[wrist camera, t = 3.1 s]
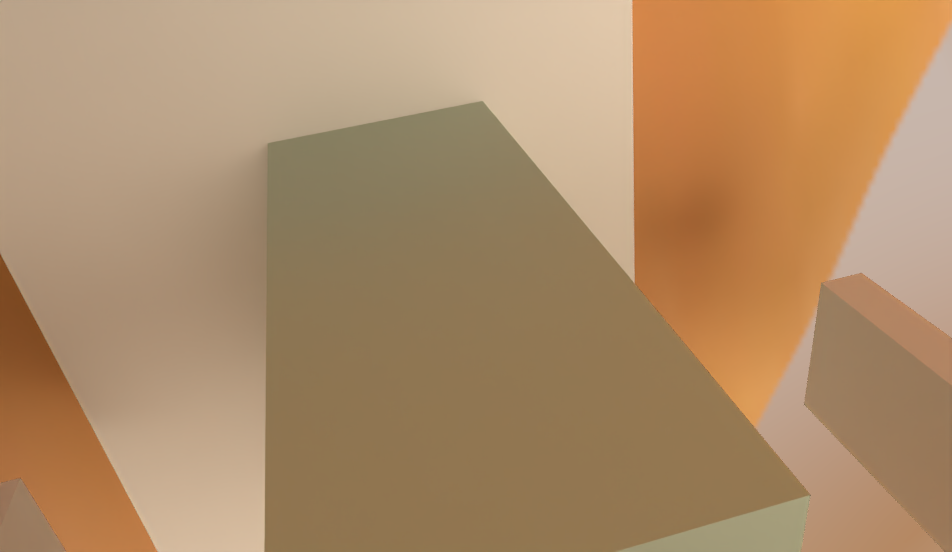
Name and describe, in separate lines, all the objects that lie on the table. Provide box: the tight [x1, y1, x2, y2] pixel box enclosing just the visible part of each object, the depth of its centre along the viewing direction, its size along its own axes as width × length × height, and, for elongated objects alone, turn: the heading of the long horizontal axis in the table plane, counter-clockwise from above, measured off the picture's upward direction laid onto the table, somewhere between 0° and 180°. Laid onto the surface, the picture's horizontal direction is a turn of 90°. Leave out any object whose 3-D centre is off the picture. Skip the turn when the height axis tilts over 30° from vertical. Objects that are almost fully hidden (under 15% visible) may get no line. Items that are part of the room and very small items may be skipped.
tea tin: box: [264, 101, 810, 552], centre depth 11 cm, size 8×4×10 cm, turn 6°
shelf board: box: [0, 0, 635, 552], centre depth 14 cm, size 18×12×4 cm, turn 6°
